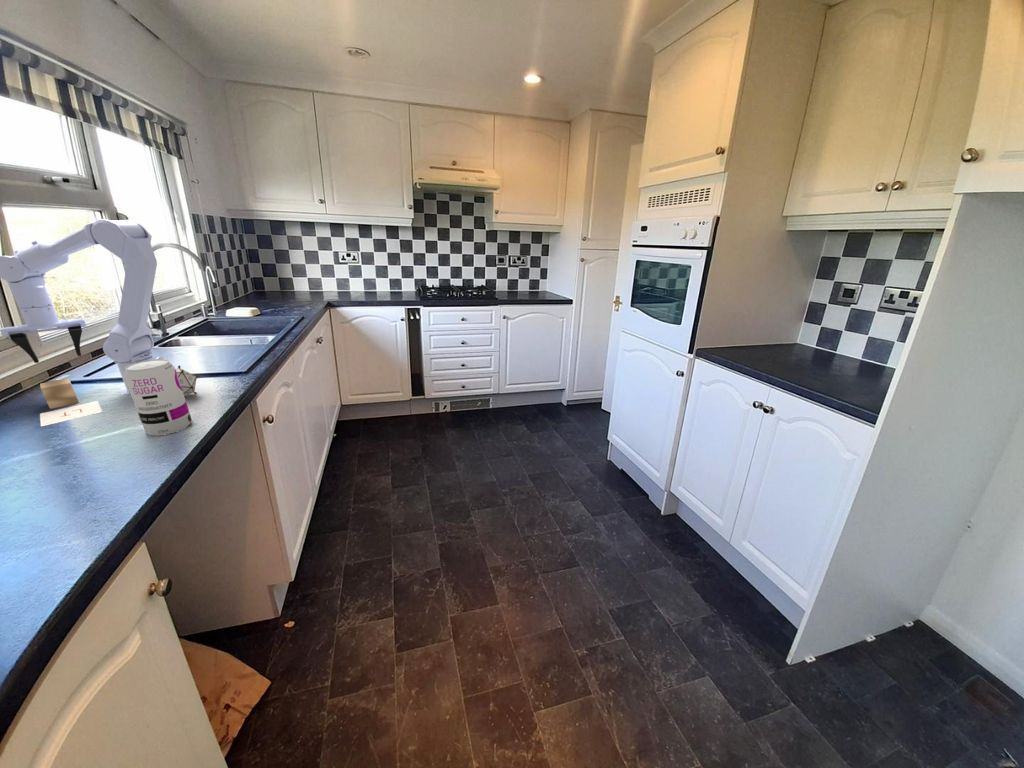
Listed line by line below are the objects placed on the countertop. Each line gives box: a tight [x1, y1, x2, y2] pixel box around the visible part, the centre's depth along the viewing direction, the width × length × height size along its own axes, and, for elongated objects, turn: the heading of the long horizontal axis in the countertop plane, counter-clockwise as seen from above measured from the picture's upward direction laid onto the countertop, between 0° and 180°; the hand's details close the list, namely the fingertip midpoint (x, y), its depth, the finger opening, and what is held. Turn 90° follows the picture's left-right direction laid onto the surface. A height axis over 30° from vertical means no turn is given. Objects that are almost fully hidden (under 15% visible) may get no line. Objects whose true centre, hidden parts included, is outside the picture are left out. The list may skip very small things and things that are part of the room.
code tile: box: [39, 400, 103, 427], centre depth 97 cm, size 10×10×1 cm
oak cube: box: [39, 378, 80, 410], centre depth 102 cm, size 5×5×6 cm
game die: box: [175, 364, 201, 397], centre depth 106 cm, size 9×8×10 cm
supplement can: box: [124, 358, 193, 436], centre depth 88 cm, size 8×8×15 cm
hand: (58, 358), depth 106 cm, fingers open, 7 cm apart
